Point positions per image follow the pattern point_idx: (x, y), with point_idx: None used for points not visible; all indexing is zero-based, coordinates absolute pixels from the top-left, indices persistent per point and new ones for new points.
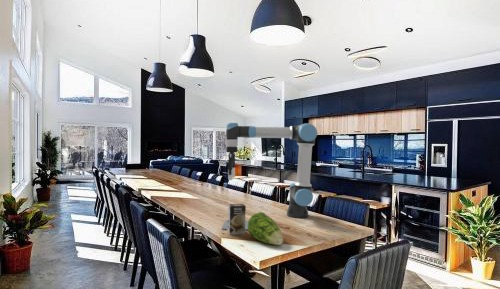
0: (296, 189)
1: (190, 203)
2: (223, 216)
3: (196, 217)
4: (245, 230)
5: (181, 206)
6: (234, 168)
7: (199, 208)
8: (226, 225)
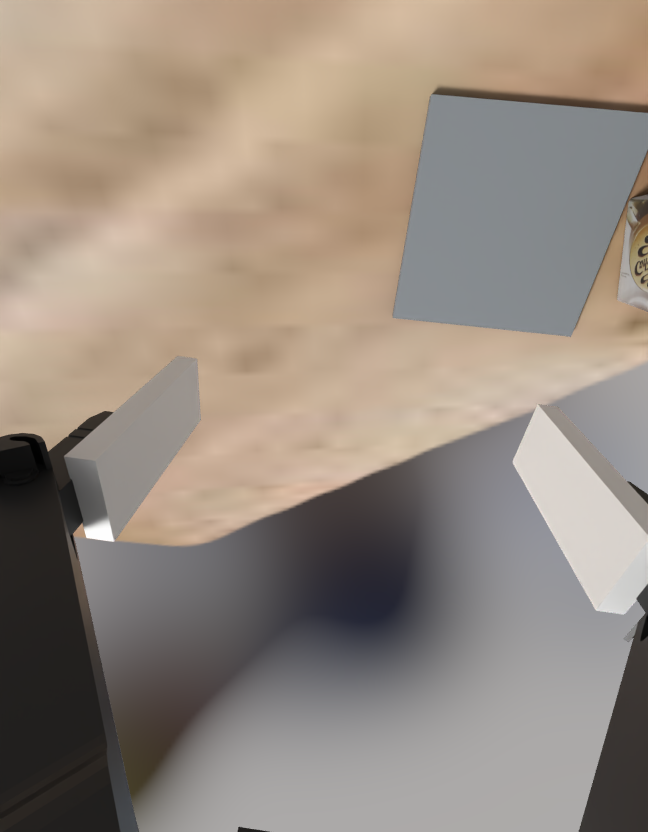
0: None
1: None
2: (271, 329)
3: (304, 465)
4: (632, 174)
5: None
6: (109, 457)
7: None
8: (514, 309)
